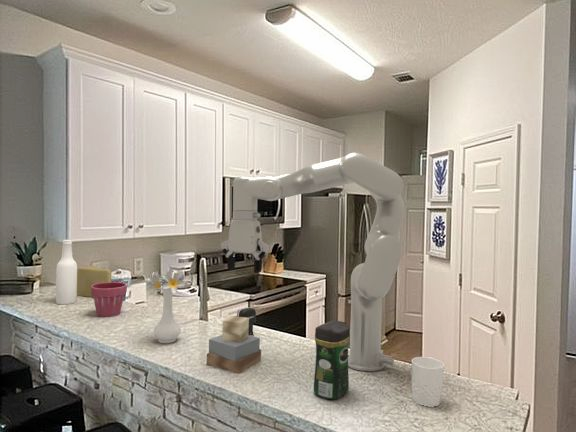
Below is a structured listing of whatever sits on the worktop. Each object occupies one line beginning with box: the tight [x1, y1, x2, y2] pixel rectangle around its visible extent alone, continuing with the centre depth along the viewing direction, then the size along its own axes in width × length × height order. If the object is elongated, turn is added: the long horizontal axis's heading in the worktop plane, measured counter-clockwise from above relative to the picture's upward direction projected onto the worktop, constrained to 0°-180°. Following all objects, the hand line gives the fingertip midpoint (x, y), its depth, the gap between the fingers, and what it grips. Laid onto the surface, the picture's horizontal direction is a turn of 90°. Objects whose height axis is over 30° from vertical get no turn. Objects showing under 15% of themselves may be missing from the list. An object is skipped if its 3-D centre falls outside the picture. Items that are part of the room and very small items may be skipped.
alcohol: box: [55, 239, 78, 306], centre depth 195 cm, size 9×9×30 cm
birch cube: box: [222, 315, 249, 343], centre depth 127 cm, size 6×6×6 cm
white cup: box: [411, 356, 445, 407], centre depth 105 cm, size 8×8×10 cm
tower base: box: [206, 348, 262, 374], centre depth 127 cm, size 12×12×4 cm
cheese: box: [77, 265, 112, 299], centre depth 209 cm, size 22×10×15 cm, turn 56°
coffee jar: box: [313, 319, 350, 400], centre depth 108 cm, size 10×8×19 cm
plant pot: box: [91, 281, 128, 318], centre depth 177 cm, size 14×14×13 cm
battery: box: [236, 306, 257, 337], centre depth 149 cm, size 7×4×11 cm, turn 139°
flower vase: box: [144, 270, 190, 344], centre depth 145 cm, size 13×18×25 cm
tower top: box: [208, 334, 261, 361], centre depth 127 cm, size 11×11×4 cm
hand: (244, 271), depth 128 cm, fingers open, 9 cm apart
